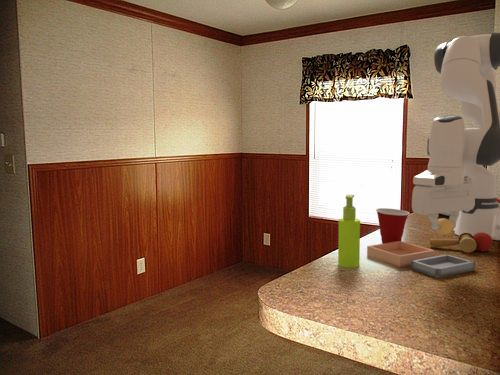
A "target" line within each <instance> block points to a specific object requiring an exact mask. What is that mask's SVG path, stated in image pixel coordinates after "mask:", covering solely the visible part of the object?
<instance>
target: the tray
mask: <svg viewBox="0 0 500 375" xmlns="http://www.w3.org/2000/svg"><path fill="white" fill-rule="evenodd" d="M475 267H476V261H472V260H469V259H466V258H462V257H458V256H455V255H451V254H447V253H445V254H441V255H436V256H435V255H434V257H429V258H424V259H418V260H413V261H411V266H410V270H411V271H416V272H419V273H422V274H424V275H428V276H430V277H433V278H436V279H440V278H445V277H449V276H453V275H459V274H464V273H469V272H473V271H475V270H476V268H475Z"/></svg>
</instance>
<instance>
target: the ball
mask: <svg viewBox="0 0 500 375" xmlns="http://www.w3.org/2000/svg"><path fill="white" fill-rule="evenodd" d="M437 220H438V223H441V226H440V227H441V228H440V229H439V230H435V231H436V233H437V234H439V235H442V236H444V235H445V236H447V235H448V234H450V233H451V232H452V231H453V229H454V228H453V226H452V223H451V222H450V221H449V218H448V219H447V218H439V219H437Z"/></svg>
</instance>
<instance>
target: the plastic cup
mask: <svg viewBox="0 0 500 375" xmlns="http://www.w3.org/2000/svg"><path fill="white" fill-rule="evenodd" d="M375 211H376V213H377V220H378V225H379V233H380V237H381V244H384V243H390V242H397V241H402V239H403V236H404V231H405V227H406V222H407V220H408V218H409V215H410V214H411V213H410V212H409V211H407V210H403V209H399V208H398V209H396V208H387V207H383V208H380V207H379V208H376V209H375Z"/></svg>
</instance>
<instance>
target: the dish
mask: <svg viewBox="0 0 500 375" xmlns="http://www.w3.org/2000/svg"><path fill="white" fill-rule="evenodd" d="M435 253H436V252H435V250H434V249H432V248H427V247H423V246H421V245H420V246H419V245H418V244H417V245H416V244H412V243H408V242H406V241H405V242H404V241H402V240H401V241H397V242H390V243H384V244H382V243H379V244H372V245H367V247H366V256H367V258H371V259H375V260H377V261H378V262H383V263H386V264H388V265H391V266H394V267H397V268H406V267H411V261H413V260H418V259H424V258H429V257H434V256H435Z"/></svg>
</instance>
